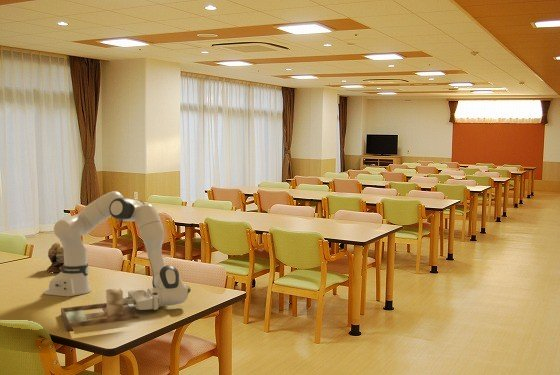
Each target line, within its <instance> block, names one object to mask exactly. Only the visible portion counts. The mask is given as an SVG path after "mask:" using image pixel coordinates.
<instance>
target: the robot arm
mask: <svg viewBox="0 0 560 375" xmlns="http://www.w3.org/2000/svg"><path fill="white" fill-rule="evenodd" d="M111 217H112V218H114V219H116V220H118V221H123V222H135V223H136V224H137V227H138V230H139V233H140V236H141V238H142V239H141V240H142V241H143V244H144V247H145V251H146V252H147V257H148V261H149V264H150V268H151V272H152V279H151V280H152V282H151V284H152V287H149V288H147V291H146V290H144V289H132V290H128V291H127V296H126V297H123V304H128V305H133V306H134V307H135V308H136V310H138V311H139V310H141V311H143V310H144V311H146V310H147V311H149V310H153V311H155V310H158V309H159V308H160V307H161V308H162V307H163V306H175V305H180V304H183V303H185V302H186V301H187V299H188V296H189V291H188V288H187V286H188V285H187V284H185V283H184V282H183V280H182V278H181V276H180V273H179V270H178V269H177V267H175V266H174V265H165V262H164V258H163V254H162V249H163V243H164V240H165V236H166V235H165V229H164V225H163V222H162V219H161V217H160V215H159V213H158V211H157V209H156V207H155V205H152V204H151V203H145V202H143V201H142V200H138V199H135V198H128V197H127V198H125V197H124V196H123V194H122V193H121V192H119V191H116V190H113V191H109V192H107V193H105V194H102V195H101V196H100V197H98V198H96V199H95V200H93V201H91V202H90V203H88V204H87V205H86V206H85V207H84V209H82V210H81V211H80V212H79V213H76V214H74V215H71V216H67V217H66V216H65V217H63V218H60V219H59V220H58V221H57V222H56V223H54V225H53V232H54V235H55V236H56V237H57V238H58V239H59V241H60V244H61V245H62V247H63V250H64V264H63V265H62V266H61V267H59V268H60V269H61V272H60V273H58V274H56V275H55V276H54V277H53V278H51V280H50V281H49V283H48V288H46V289H45V290H44V291H43V295H48V296H49V295H50V296H59V297H74V296H78V295H85V294H87V293H90V292H91V291H92V289H91V284H90V281H89V270H90V269H89V263H88V248H87V247H86V246H85V245H84V243H83V240H82V236H86V235H89V234H90V233H91V232H93V230H94V229H95V228H96V227H98V226H99V225H100V224H102V223H103V222H104V221H106V220H108V219H109V218H111ZM186 285H187V286H186Z"/></svg>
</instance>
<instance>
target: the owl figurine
mask: <svg viewBox="0 0 560 375" xmlns="http://www.w3.org/2000/svg"><path fill="white" fill-rule="evenodd" d="M47 252H48V253H47V254H48V255H47V257H48V259H49V260H50V263H51V264H50V266H48V267H47V269H46V271H47V272H48V271H49V272H48V273H50V272H53V273H52V274H56V273H58V274H59V273H60V272H61V269H60V268H59V267H61V266H62V265H63V264H64V250H63V246H61V242H54V243H53V244H52V245H51V247H50V248H49V249H48V251H47Z"/></svg>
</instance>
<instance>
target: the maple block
mask: <svg viewBox="0 0 560 375" xmlns="http://www.w3.org/2000/svg"><path fill="white" fill-rule="evenodd" d="M105 292H106V293H105V294H106V295H105V297H106V298H105V299H106V302H105V303H106V304H107V313H108V315H109V316H111V315H119V314H123V298H124V292H123V290H122V289H121V288H119V287H118V288H110V289H109V288H108V289H106V290H105Z"/></svg>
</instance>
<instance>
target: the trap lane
mask: <svg viewBox="0 0 560 375" xmlns="http://www.w3.org/2000/svg"><path fill="white" fill-rule="evenodd" d="M95 309H102V311H99V312H93V313H91V312H90V313H85V311H88V310H95ZM60 315H61V318H62V321H63V325H64V326H65V329H66V331H67V332H72V331H74V329H73V328H76V327H77V328H78V327H83V326H84V327H85V326H91V325H99V324H107V323H117V322H122V321H131V320H137V319H139V318H140V315H139V314H136V313H135V311H134V310H133V309H132V308H131V306H130V304H123V314H119V315H111V316H109V315H108V313H107V304H106V302H101V303H93V304H92V303H91V304H86V305H85V304H84V305H77V306H76V305H75V306H68V307H61V308H60ZM105 317H106V318H105ZM97 318H99V319H97Z"/></svg>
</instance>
